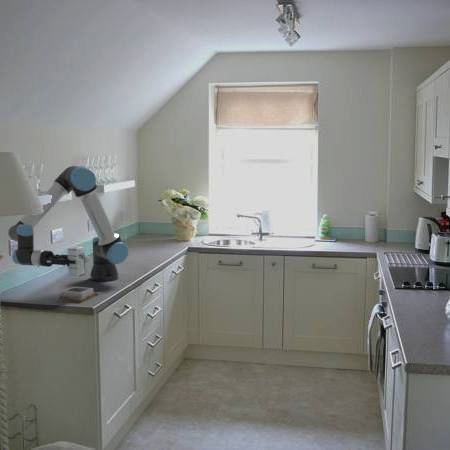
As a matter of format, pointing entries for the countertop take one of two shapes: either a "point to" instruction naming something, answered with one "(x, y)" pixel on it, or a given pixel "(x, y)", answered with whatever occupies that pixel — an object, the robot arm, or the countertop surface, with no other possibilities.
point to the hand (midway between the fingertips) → (86, 261)
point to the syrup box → (76, 270)
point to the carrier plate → (76, 300)
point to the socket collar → (77, 292)
